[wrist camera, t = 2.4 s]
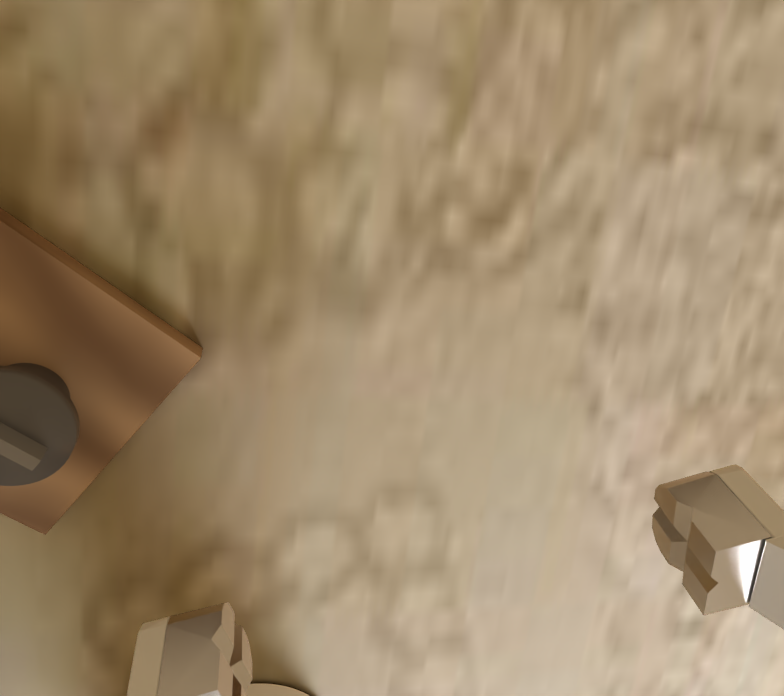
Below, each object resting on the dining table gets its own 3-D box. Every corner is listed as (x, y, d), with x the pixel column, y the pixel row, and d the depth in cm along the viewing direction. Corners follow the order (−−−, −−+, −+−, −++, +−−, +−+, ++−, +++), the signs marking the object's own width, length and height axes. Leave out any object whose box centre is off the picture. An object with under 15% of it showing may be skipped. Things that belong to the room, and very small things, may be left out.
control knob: (49, 465, 38) (20, 519, 34) (-62, 406, 35) (-110, 456, 31) (116, 387, 37) (96, 432, 32) (7, 320, 34) (-32, 358, 30)
